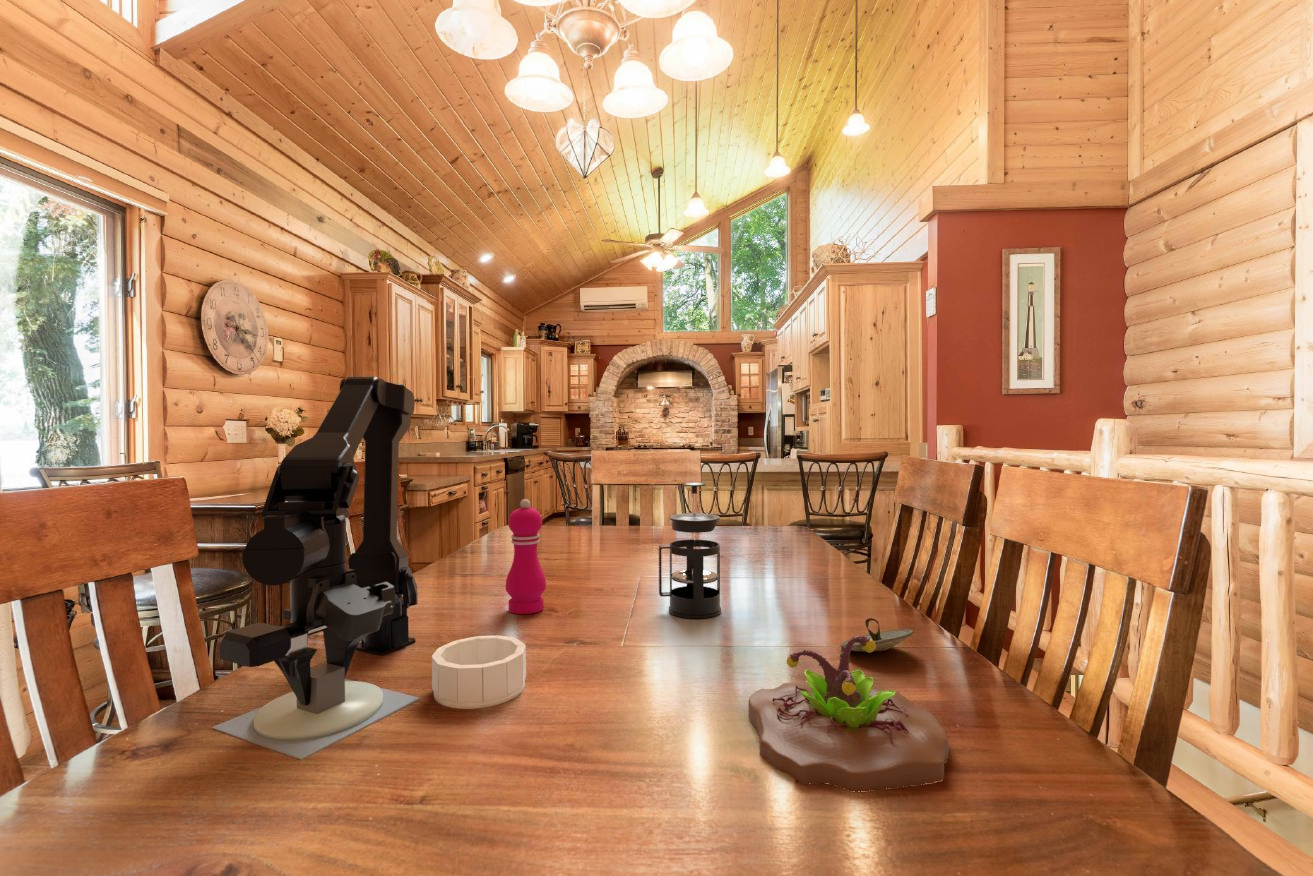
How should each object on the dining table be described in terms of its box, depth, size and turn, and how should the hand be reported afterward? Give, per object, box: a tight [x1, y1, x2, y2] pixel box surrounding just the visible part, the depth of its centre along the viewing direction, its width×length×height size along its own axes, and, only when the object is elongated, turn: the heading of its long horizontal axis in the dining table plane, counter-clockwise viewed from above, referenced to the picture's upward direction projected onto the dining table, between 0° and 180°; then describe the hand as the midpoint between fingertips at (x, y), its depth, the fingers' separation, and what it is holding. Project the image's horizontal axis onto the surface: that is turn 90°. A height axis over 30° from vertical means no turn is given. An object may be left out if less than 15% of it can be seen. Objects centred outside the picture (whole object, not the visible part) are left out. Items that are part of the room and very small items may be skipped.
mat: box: [211, 678, 421, 761], centre depth 71 cm, size 15×15×1 cm
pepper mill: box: [505, 498, 547, 615], centre depth 111 cm, size 7×7×20 cm
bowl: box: [431, 634, 527, 710], centre depth 77 cm, size 11×11×5 cm
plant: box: [748, 634, 949, 793], centre depth 65 cm, size 20×20×11 cm
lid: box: [839, 617, 915, 652], centre depth 89 cm, size 11×10×5 cm
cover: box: [254, 662, 383, 741], centre depth 71 cm, size 13×13×5 cm
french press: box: [658, 481, 722, 620], centre depth 110 cm, size 12×9×23 cm
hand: (320, 698), depth 71 cm, fingers closed on cover, 3 cm apart
